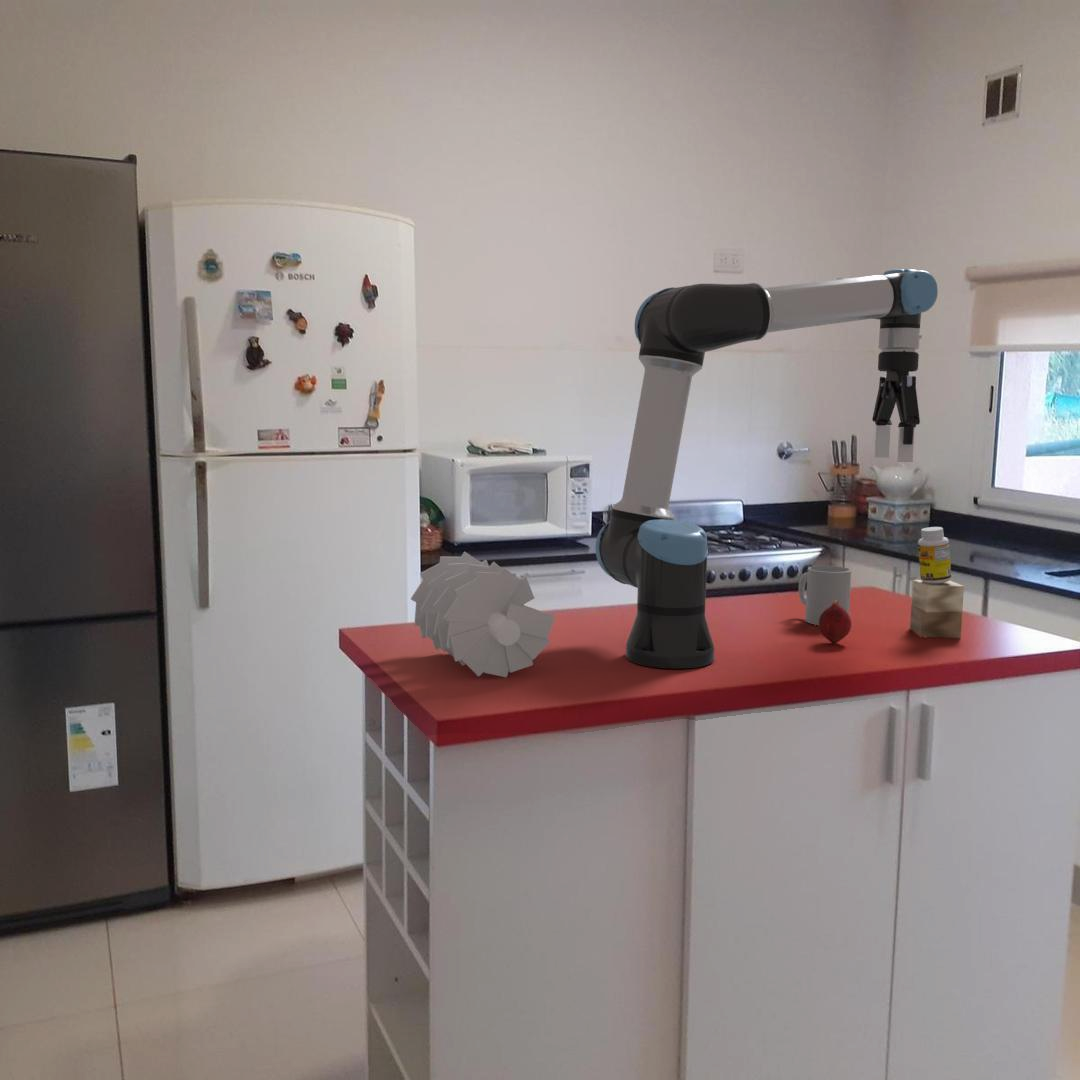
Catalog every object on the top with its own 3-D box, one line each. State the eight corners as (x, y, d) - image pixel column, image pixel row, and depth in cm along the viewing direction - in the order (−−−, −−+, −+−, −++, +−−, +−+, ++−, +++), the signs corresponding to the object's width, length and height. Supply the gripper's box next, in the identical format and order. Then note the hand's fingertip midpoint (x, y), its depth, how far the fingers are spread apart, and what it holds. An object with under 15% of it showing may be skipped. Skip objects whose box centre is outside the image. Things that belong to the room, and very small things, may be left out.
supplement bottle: (915, 580, 212) (911, 528, 211) (943, 576, 213) (939, 524, 211) (928, 585, 207) (924, 532, 205) (956, 581, 207) (952, 528, 206)
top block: (926, 612, 207) (927, 586, 206) (911, 605, 214) (913, 579, 213) (962, 612, 207) (964, 586, 207) (946, 605, 214) (948, 579, 214)
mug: (858, 624, 219) (860, 570, 217) (827, 628, 214) (830, 573, 213) (813, 613, 229) (815, 561, 227) (783, 618, 224) (785, 565, 223)
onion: (851, 648, 198) (853, 604, 197) (818, 646, 199) (820, 603, 198) (849, 641, 204) (851, 598, 203) (817, 639, 205) (819, 597, 204)
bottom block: (920, 637, 208) (921, 611, 207) (909, 629, 215) (911, 604, 215) (960, 638, 207) (962, 612, 207) (948, 630, 215) (950, 605, 214)
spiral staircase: (480, 708, 172) (430, 664, 195) (573, 653, 178) (513, 616, 200) (434, 610, 166) (387, 576, 189) (531, 556, 171) (475, 529, 194)
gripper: (942, 349, 202) (935, 463, 205) (895, 353, 227) (890, 455, 230) (901, 348, 202) (895, 463, 205) (860, 353, 227) (855, 455, 230)
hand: (892, 459), depth 217 cm, fingers open, 13 cm apart
